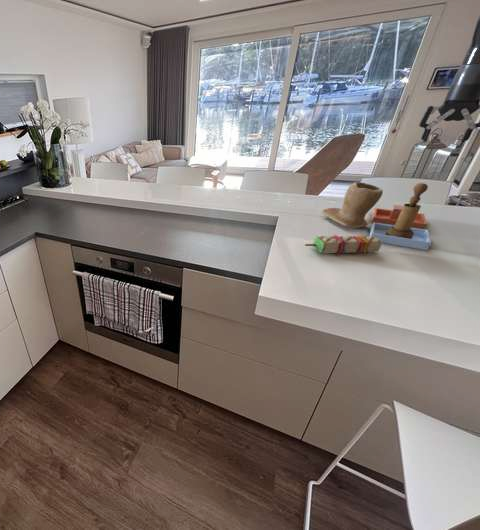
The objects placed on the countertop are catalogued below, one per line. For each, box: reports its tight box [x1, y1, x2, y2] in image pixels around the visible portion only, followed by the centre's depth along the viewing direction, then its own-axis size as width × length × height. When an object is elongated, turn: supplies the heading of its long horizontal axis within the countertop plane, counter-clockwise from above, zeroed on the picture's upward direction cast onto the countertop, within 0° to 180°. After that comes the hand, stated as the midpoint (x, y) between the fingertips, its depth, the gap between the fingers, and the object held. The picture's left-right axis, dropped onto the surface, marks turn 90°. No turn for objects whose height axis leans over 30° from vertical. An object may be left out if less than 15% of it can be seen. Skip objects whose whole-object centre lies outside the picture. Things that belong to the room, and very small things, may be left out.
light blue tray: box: [369, 222, 432, 251], centre depth 96 cm, size 14×11×3 cm
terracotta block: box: [388, 204, 404, 220], centre depth 106 cm, size 5×5×5 cm
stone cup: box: [321, 181, 384, 229], centre depth 107 cm, size 15×12×15 cm
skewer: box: [304, 234, 383, 254], centre depth 91 cm, size 21×6×5 cm, turn 84°
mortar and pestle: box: [385, 182, 429, 239], centre depth 91 cm, size 7×6×18 cm
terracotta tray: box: [371, 207, 427, 230], centre depth 107 cm, size 14×11×3 cm
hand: (442, 141), depth 92 cm, fingers open, 8 cm apart
